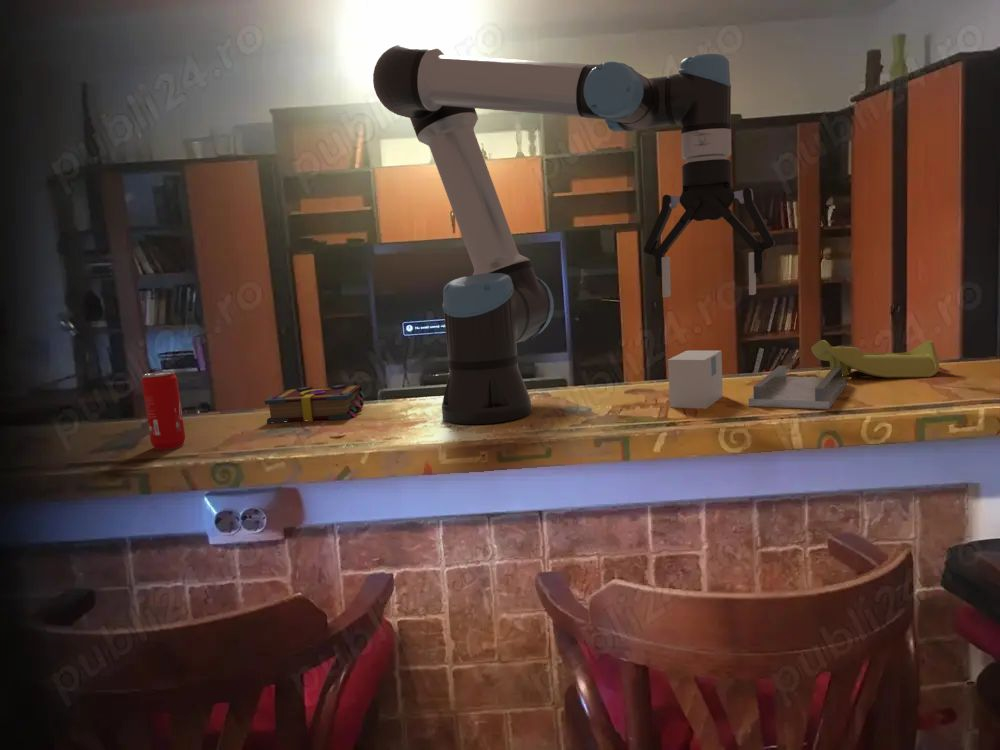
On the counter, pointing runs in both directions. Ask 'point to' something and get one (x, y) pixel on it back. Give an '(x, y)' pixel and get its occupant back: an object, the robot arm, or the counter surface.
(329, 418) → the decorative book
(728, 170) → the robot arm
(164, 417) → the beverage can
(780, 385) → the grey channel bracket
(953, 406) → the counter surface
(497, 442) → the counter surface
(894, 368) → the plastic component
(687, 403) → the block
